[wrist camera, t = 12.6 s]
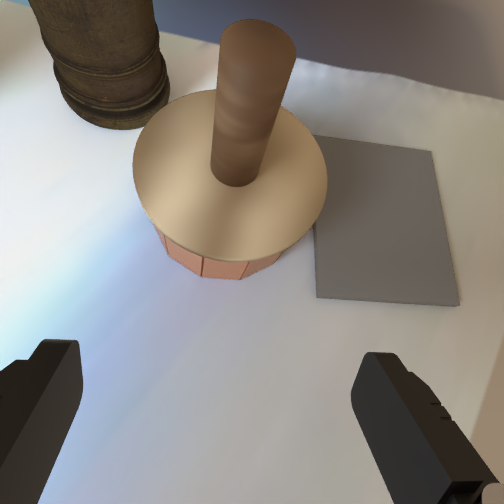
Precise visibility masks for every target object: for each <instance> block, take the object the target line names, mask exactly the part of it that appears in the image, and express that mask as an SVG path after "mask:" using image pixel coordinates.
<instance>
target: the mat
mask: <svg viewBox="0 0 504 504" xmlns="http://www.w3.org/2000/svg"><path fill="white" fill-rule="evenodd" d="M313 137H314V138H315V140H316V142H317V144H318V145H319V147H320V150H321V152H322V155H323V157H324V161H325V165H326V170H327V193H326V198H325V201H324V205H323V208H322V210H321V212H320V214H319V216H318V218H317V219H316V221H315V222H314V246H315V270H316V295H317V298H327V299H343V300H359V301H374V302H390V303H406V304H422V305H437V306H453V307H455V306H459V305H460V302H459V297H458V292H457V286H456V281H455V276H454V271H453V265H452V260H451V255H450V250H449V244H448V239H447V234H446V229H445V223H444V218H443V213H442V208H441V202H440V197H439V192H438V187H437V181H436V176H435V171H434V166H433V160H432V155H431V151H424V150H417V149H410V148H403V147H396V146H389V145H382V144H374V143H367V142H360V141H353V140H346V139H339V138H332V137H325V136H318V135H313Z"/></svg>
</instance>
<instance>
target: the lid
mask: <svg viewBox="0 0 504 504" xmlns="http://www.w3.org/2000/svg"><path fill="white" fill-rule="evenodd" d="M295 60H296V49H295V46H294V44H293V42H292V40H291V39H290V37H289V36H288V35H287V34H286V33H285V32H284V31H283V30H281V29H280V28H278V27H277V26H274V25H273V24H270V23H267V22H265V21H261V20H252V19H249V20H240V21H237V22H235V23H232V24H231V25H229V26H228V27H227V28H226V29H225V30H224V32H223V34H222V36H221V41H220V52H219V64H218V76H217V88H216V89H215V90H205V91H200V92H195V93H191V94H189V95H186V96H183V97H180V98H178V99H176V100H174V101H172V102H171V103H169V104H167V105H166V106H164V107H163V108H162V109H160V110H159V111H158V112H157V113H156V114H155V115H154V116H153V117H152V118H151V119H150V120H149V121H148V123H147V124H146V125H145V127H144V129H143V130H142V132H141V134H140V136H139V138H138V140H137V143H136V146H135V150H134V155H133V178H134V182H135V187H136V190H137V193H138V196H139V199H140V201H141V204H142V207H143V208H144V210H145V212H146V214H147V215H148V217H149V218H150V220H151V221H152V222H153V224H154V225H155V226H156V227H157V228H158V229H159V230H160V231H161V232H162V233H163V234H164V235H165V236H166V237H167V238H168V239H170V240H171V241H172V242H174V243H175V244H176V245H178V246H180V247H182V248H183V249H185V250H187V251H189V252H191V253H194V254H196V255H198V256H201V257H204V258H208V259H212V260H216V261H223V262H251V261H257V260H261V259H265V258H269V257H271V256H274V255H276V254H279V253H281V252H282V251H284V250H286V249H288V248H290V247H291V246H292V245H293V244H295V243H296V242H297V241H299V240H300V239H301V238H302V237H303V236H304V235H305V233H306V232H307V231H308V230H309V229H310V228H311V226H312V225H313V224H314V222H315V221H316V219H317V218H318V216H319V214H320V212H321V210H322V208H323V205H324V201H325V198H326V193H327V170H326V165H325V161H324V157H323V155H322V152H321V150H320V147H319V145H318V144H317V142H316V140H315V138H314V137H313V135H312V134H311V133H310V131H309V130H308V129H307V128H306V127H305V125H304V124H303V123H302V122H301V121H300V120H299V119H298V118H296V117H295V116H294V115H293V114H292V113H290V112H289V111H288V110H286V109H285V108H283V107H282V106H280V105H281V102H282V99H283V96H284V93H285V90H286V87H287V84H288V81H289V78H290V75H291V72H292V69H293V66H294V63H295Z"/></svg>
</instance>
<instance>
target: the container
mask: <svg viewBox="0 0 504 504" xmlns="http://www.w3.org/2000/svg"><path fill="white" fill-rule="evenodd" d="M28 1H29V3H30V6H31V8H32V9H33V12H34V14H35V16H36V19H37V21H38V24H39V26H40V31H41V35H42V39H43V42H44V44H45V46H46V48H47V49H48V51H49V52H50V54H51V56H52V58H53V60H54V62H53V69H54V74H55V77H56V79H57V81H58V83H59V86H60V90H61V93H62V95H63V97H64V99H65V101H66V102H67V104H68V105H69V106H70V107H71V109H72V110H73V111H74V112H75V113H76V114H77V115H79V116H80V117H81V118H83V119H84V120H86V121H88V122H90V123H92V124H94V125H97V126H99V127H103V128H108V129H115V130H117V129H118V130H129V129H136V128H139V127H142V126H145V125H146V124H147V123H148V121H149V120H150V119H151V118H152V117H153V116H154V115H155V114H156V113H157V112H158V111H159V110H160V109H162V108H163V107H164V106H166V104H167V102H168V98H169V93H170V83H169V78H168V75H167V68H166V63H165V60H164V58H163V55H162V54H161V52H160V48H159V31H158V27H157V24H156V22H155V18H154V11H153V3H152V0H28Z"/></svg>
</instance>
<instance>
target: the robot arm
mask: <svg viewBox="0 0 504 504" xmlns="http://www.w3.org/2000/svg"><path fill="white" fill-rule="evenodd" d="M82 392H83V376H82V366H81V357H80V347H79V343H78V341H77V340H60V339H44V340H42V341H41V342H40V344H39V345H38V346H37V348H36V349H35V351H34V352H33V354H32V355H31V357H30V358H29V359H28V360H15V361H14V362H12V363H11V364H10V365H8V366H7V367H5V368H4V369H3V370H1V371H0V504H37V503H38V501H39V499H40V496H41V494H42V492H43V489H44V487H45V485H46V482H47V480H48V478H49V475H50V473H51V471H52V468H53V466H54V464H55V461H56V459H57V457H58V454H59V452H60V450H61V447H62V445H63V443H64V440H65V438H66V436H67V433H68V431H69V429H70V426H71V424H72V422H73V419H74V417H75V415H76V412H77V410H78V408H79V405H80V401H81V398H82ZM351 403H352V408H353V411H354V413H355V415H356V418H357V420H358V422H359V425H360V427H361V429H362V431H363V434H364V436H365V438H366V441H367V443H368V445H369V447H370V450H371V452H372V454H373V457H374V459H375V461H376V463H377V466H378V468H379V470H380V473H381V475H382V477H383V479H384V482H385V484H386V486H387V489H388V491H389V493H390V495H391V498H392V500H393V502H394V504H504V484H501V483H500V482H499V481H498V480H497V479H496V477H495V476H494V475H493V473H492V472H491V471H490V469H489V468H488V466H487V465H486V464H485V462H484V461H483V460H482V458H481V457H480V455H479V454H478V453H477V451H476V450H475V449H474V448H473V446H472V445H471V443H470V442H469V440H468V439H467V438H466V436H465V435H464V434H463V432H462V431H461V430H460V428H459V427H458V425H457V424H456V423H455V421H452V419H451V416H450V414H449V413H448V412H447V410H446V409H445V408H444V406H441V402H440V401H439V399H438V398H437V397H436V395H435V394H434V393H433V391H432V390H431V388H430V387H429V386H428V385H427V384H426V383H425V382H423V381H422V380H421V379H420V378H419V377H418V376H416V375H415V374H414V373H413V372H408V371H407V369H406V368H405V366H404V365H403V363H402V362H401V360H400V359H399V358H398V356H397V355H396V354H394V353H381V352H368V353H366V354H365V356H364V358H363V360H362V363H361V366H360V368H359V371H358V373H357V376H356V379H355V381H354V384H353V387H352V390H351Z"/></svg>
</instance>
